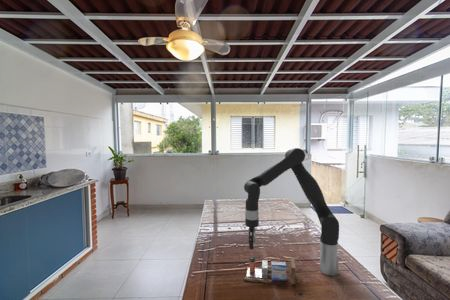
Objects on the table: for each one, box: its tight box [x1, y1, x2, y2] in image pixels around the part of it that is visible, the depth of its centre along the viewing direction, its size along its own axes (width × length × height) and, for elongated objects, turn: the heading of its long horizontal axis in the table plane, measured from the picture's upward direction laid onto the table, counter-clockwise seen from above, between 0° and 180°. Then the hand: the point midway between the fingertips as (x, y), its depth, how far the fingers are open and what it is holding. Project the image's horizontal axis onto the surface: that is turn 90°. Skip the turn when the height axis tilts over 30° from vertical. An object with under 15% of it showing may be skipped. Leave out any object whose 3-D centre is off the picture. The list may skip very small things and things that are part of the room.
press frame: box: [243, 257, 296, 285], centre depth 134 cm, size 27×12×9 cm, turn 79°
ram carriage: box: [245, 256, 269, 279], centre depth 135 cm, size 12×9×10 cm
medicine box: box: [270, 260, 287, 282], centre depth 133 cm, size 8×4×9 cm, turn 85°
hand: (252, 245), depth 135 cm, fingers open, 8 cm apart
